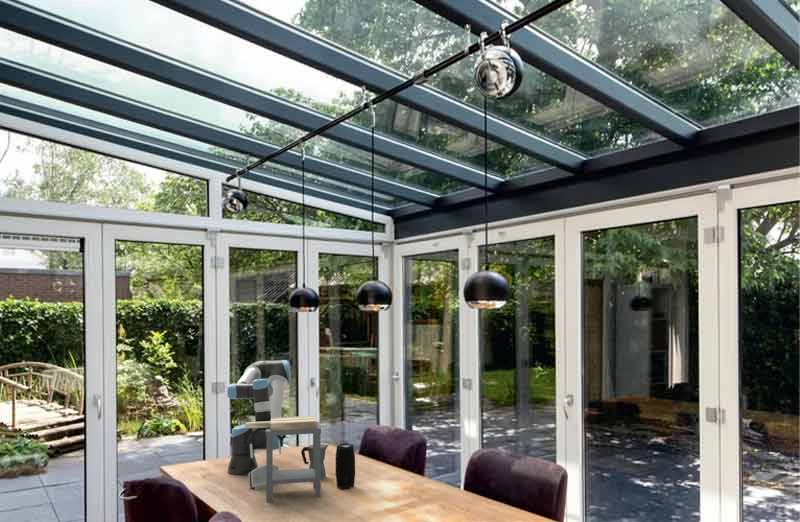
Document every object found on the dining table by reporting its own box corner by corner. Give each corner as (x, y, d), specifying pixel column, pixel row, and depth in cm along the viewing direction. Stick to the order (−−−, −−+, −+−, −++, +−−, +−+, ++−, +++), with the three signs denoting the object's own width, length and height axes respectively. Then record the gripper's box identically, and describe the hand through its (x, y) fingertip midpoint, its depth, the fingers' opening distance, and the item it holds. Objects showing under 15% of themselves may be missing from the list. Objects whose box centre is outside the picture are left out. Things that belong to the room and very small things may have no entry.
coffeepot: (323, 473, 313) (323, 437, 315) (333, 476, 306) (333, 439, 308) (296, 478, 304) (296, 441, 305) (306, 482, 296) (306, 444, 298)
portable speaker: (339, 484, 292) (339, 442, 294) (358, 485, 290) (357, 443, 291) (332, 489, 284) (332, 446, 285) (352, 490, 281) (351, 446, 283)
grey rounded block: (255, 490, 285) (251, 468, 288) (249, 492, 288) (245, 470, 291) (284, 482, 297) (280, 461, 300) (278, 484, 300) (274, 463, 303)
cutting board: (246, 425, 284) (246, 419, 284) (314, 422, 289) (314, 415, 290) (244, 432, 268) (244, 425, 268) (316, 428, 274) (316, 421, 274)
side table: (266, 490, 284) (266, 424, 286) (319, 486, 288) (318, 421, 291) (265, 502, 266) (265, 431, 269) (321, 498, 271) (321, 428, 273)
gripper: (235, 414, 297) (238, 460, 292) (287, 407, 299) (291, 453, 295) (237, 414, 304) (241, 458, 300) (288, 407, 307) (292, 451, 303)
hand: (266, 456), depth 298 cm, fingers open, 13 cm apart
